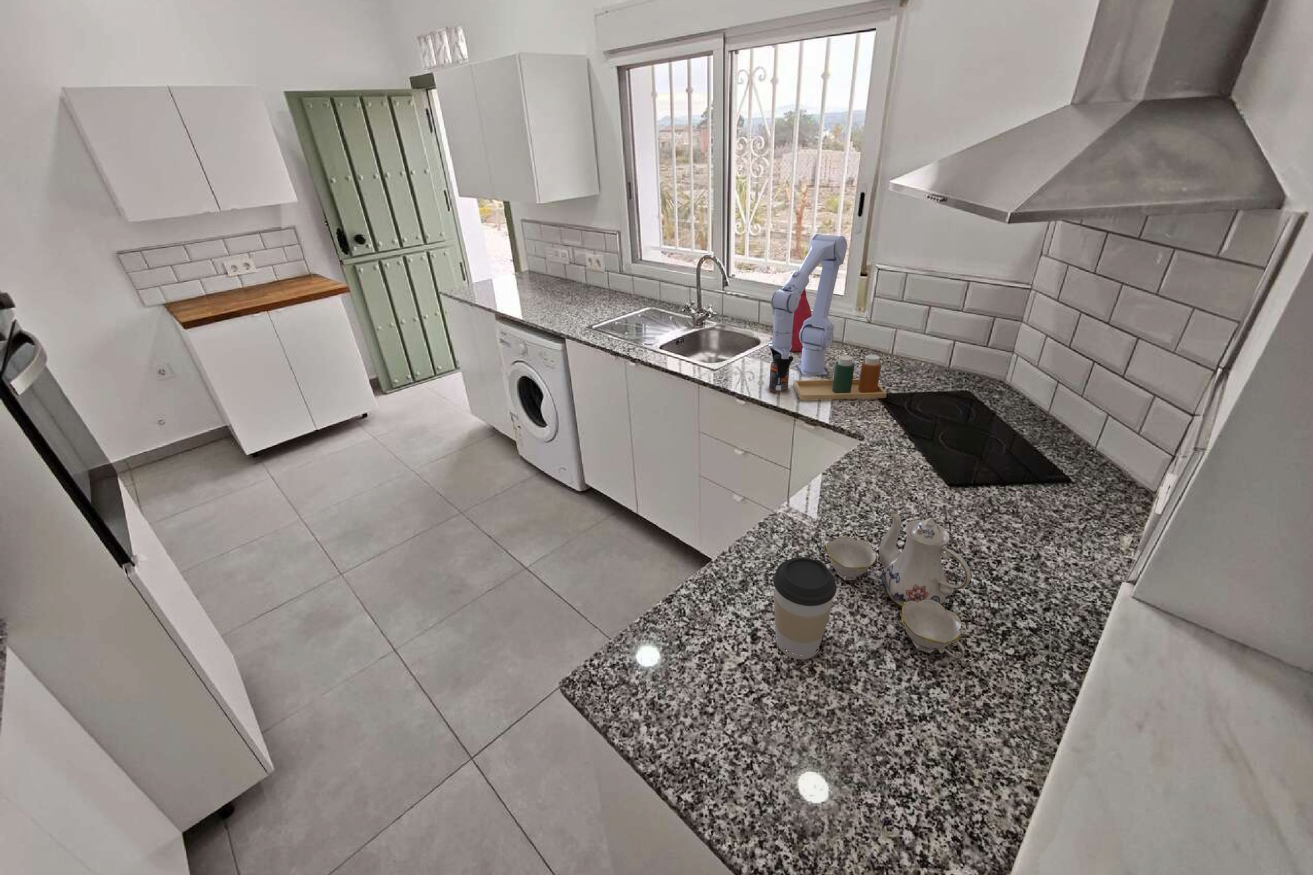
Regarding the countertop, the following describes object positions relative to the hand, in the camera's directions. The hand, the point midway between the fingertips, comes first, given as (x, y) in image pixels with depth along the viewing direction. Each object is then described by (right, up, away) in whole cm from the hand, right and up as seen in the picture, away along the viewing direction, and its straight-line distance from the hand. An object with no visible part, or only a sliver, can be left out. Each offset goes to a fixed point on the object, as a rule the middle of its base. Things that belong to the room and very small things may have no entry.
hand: (779, 372), depth 169 cm
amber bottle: (+27, -6, -1) cm, 28 cm away
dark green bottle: (+19, -6, -1) cm, 20 cm away
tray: (+18, -6, -1) cm, 19 cm away
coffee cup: (-16, -53, -83) cm, 100 cm away
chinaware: (+3, -48, -76) cm, 90 cm away
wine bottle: (+15, +14, +36) cm, 42 cm away
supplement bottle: (0, -5, +3) cm, 6 cm away
